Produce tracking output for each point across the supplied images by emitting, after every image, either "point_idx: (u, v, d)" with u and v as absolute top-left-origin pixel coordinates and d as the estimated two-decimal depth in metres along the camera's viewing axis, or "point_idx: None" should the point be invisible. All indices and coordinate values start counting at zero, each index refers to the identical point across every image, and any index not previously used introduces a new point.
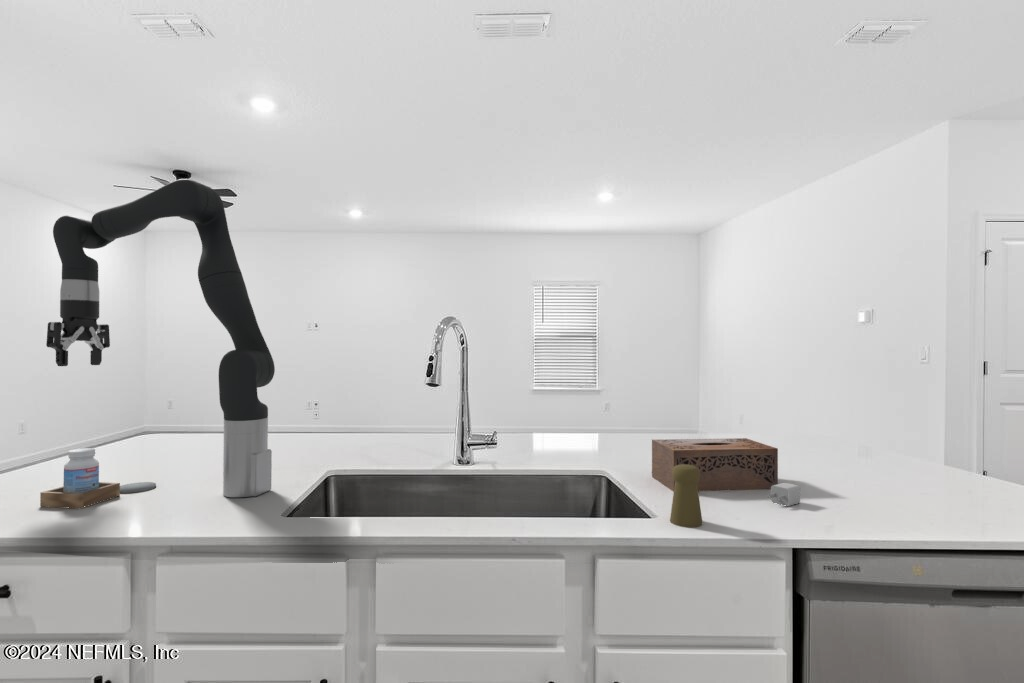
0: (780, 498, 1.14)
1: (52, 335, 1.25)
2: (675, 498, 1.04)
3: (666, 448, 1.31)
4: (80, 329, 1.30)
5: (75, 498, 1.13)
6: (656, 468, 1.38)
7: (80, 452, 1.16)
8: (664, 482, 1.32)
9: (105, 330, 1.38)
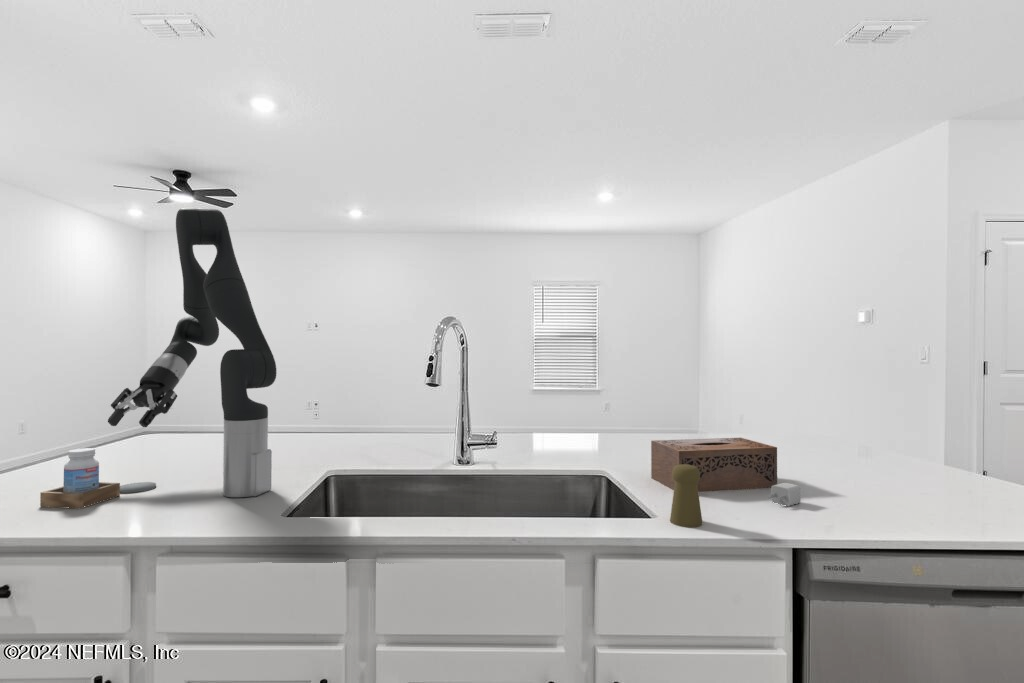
0: (780, 498, 1.14)
1: None
2: (675, 498, 1.04)
3: (669, 449, 1.30)
4: (138, 391, 1.35)
5: (75, 498, 1.13)
6: (657, 469, 1.36)
7: (80, 452, 1.16)
8: (667, 483, 1.31)
9: (166, 393, 1.34)
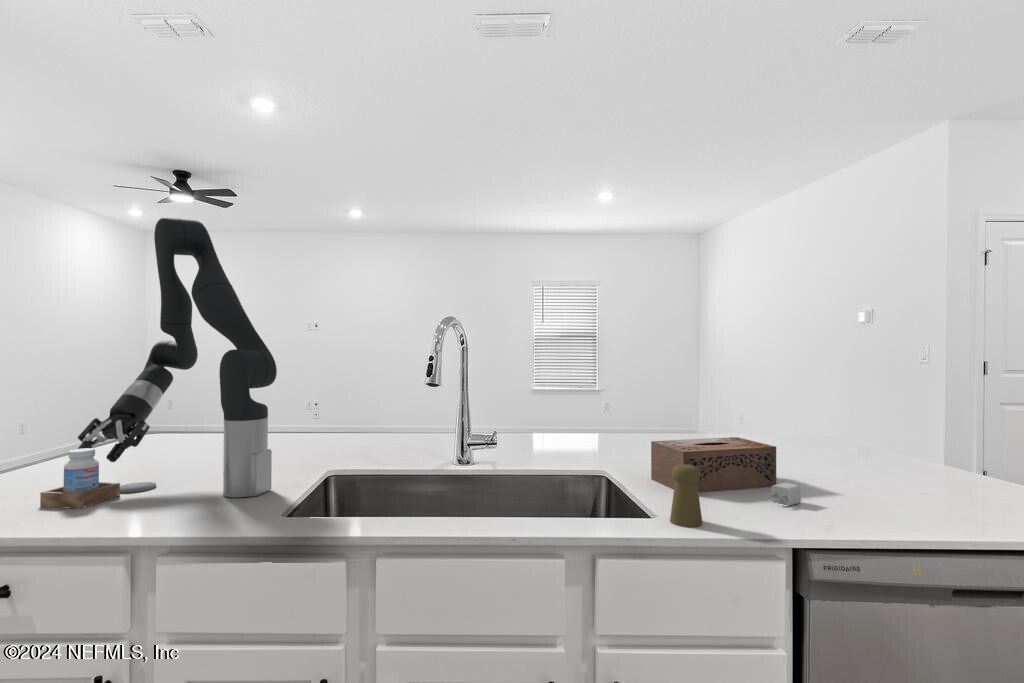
0: (781, 498, 1.14)
1: None
2: (675, 498, 1.04)
3: (672, 450, 1.29)
4: (107, 422, 1.26)
5: (75, 498, 1.13)
6: (657, 470, 1.35)
7: (80, 452, 1.16)
8: (669, 484, 1.30)
9: (137, 425, 1.26)
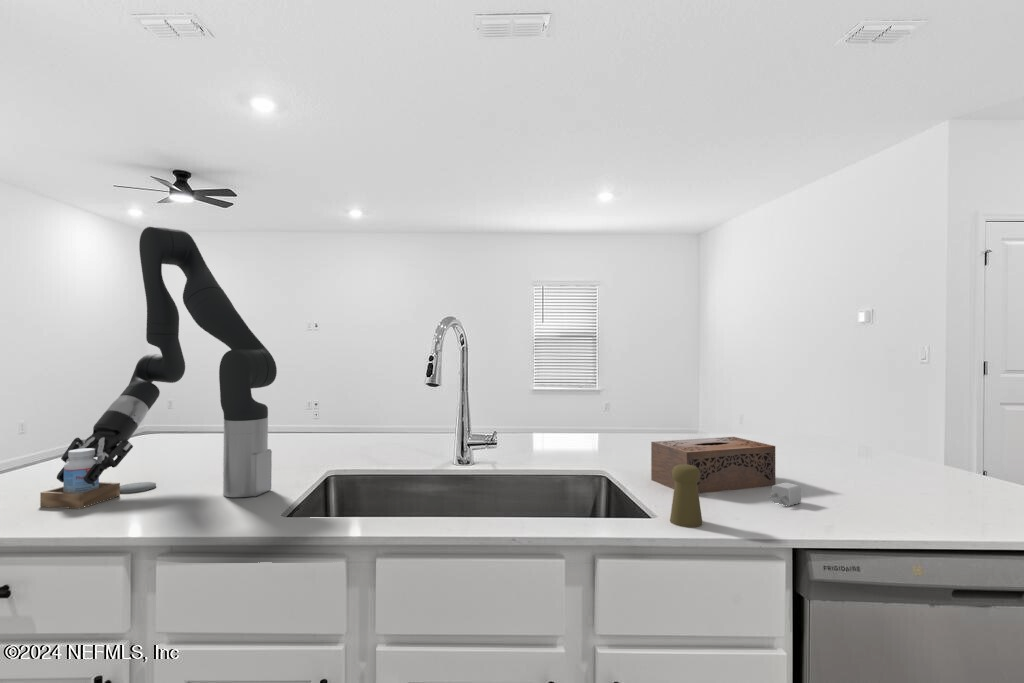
0: (781, 498, 1.15)
1: None
2: (675, 498, 1.04)
3: (675, 450, 1.28)
4: (90, 440, 1.22)
5: (75, 498, 1.13)
6: (658, 470, 1.35)
7: (80, 452, 1.16)
8: (671, 485, 1.30)
9: (119, 444, 1.21)
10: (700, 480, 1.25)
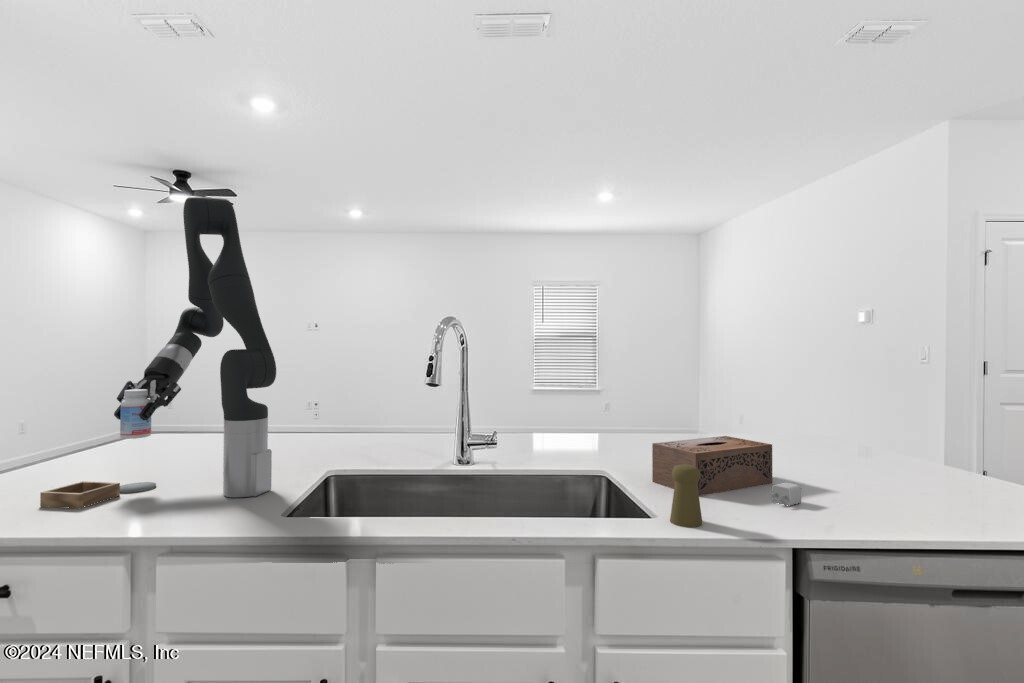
0: (781, 498, 1.15)
1: None
2: (675, 498, 1.04)
3: (681, 451, 1.27)
4: (142, 382, 1.32)
5: (75, 498, 1.13)
6: (661, 472, 1.33)
7: (135, 391, 1.27)
8: None
9: (169, 386, 1.31)
10: (707, 481, 1.25)
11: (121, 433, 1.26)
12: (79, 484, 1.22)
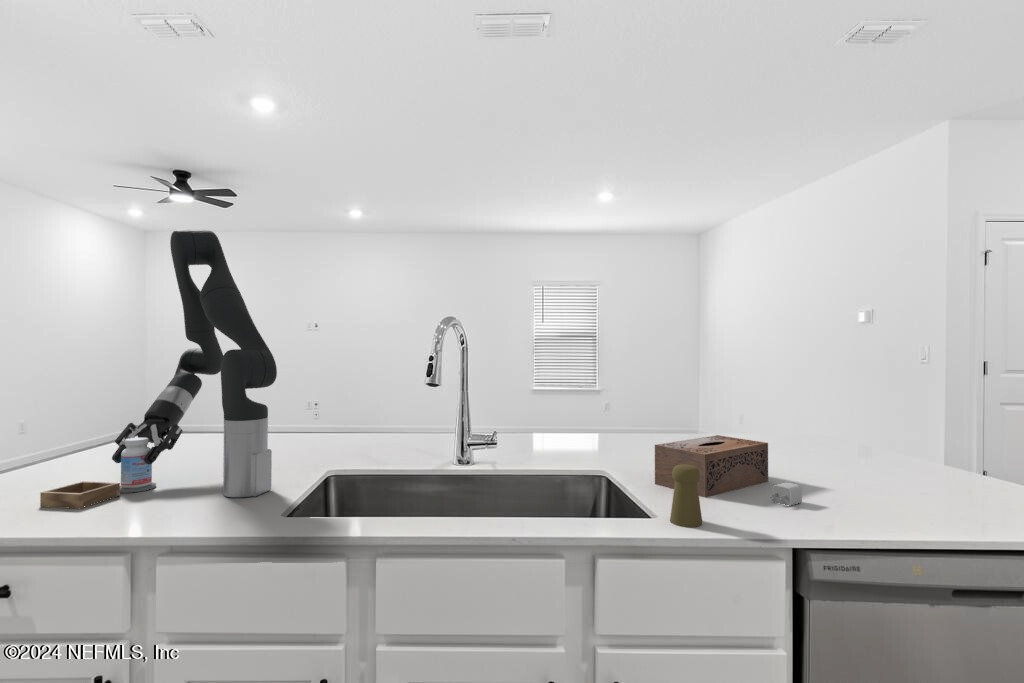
0: (782, 498, 1.15)
1: None
2: (675, 498, 1.04)
3: (688, 453, 1.25)
4: (142, 426, 1.32)
5: (75, 498, 1.13)
6: (665, 474, 1.31)
7: (136, 441, 1.27)
8: None
9: (171, 429, 1.32)
10: (715, 482, 1.24)
11: (121, 483, 1.26)
12: (79, 484, 1.22)
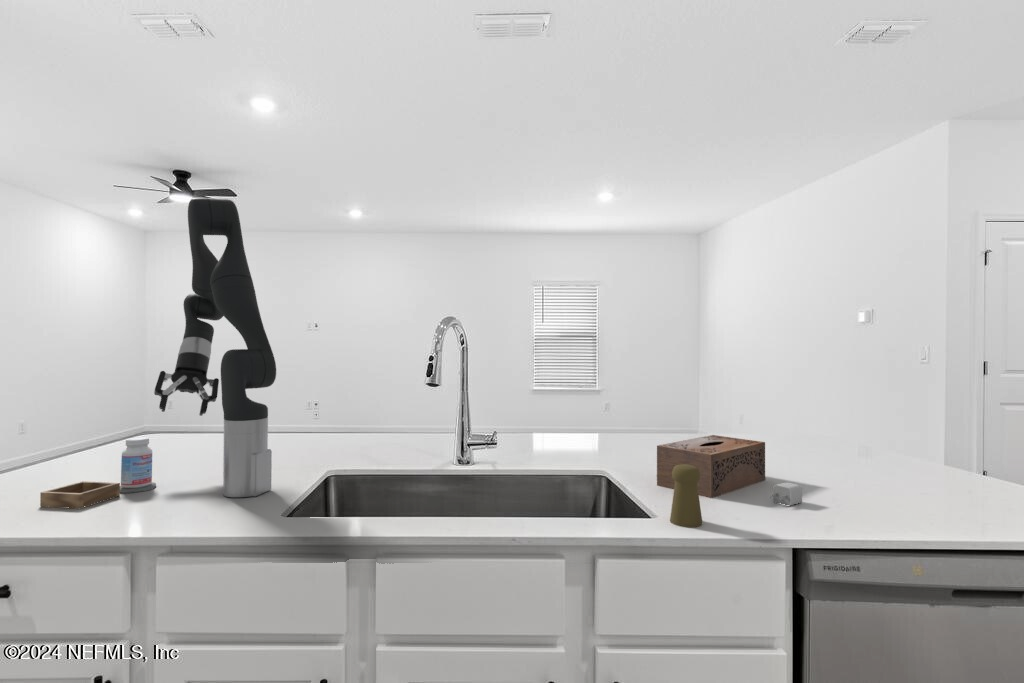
0: (782, 498, 1.15)
1: (157, 382, 1.40)
2: (675, 498, 1.04)
3: (693, 453, 1.25)
4: (182, 377, 1.42)
5: (75, 498, 1.13)
6: (668, 475, 1.30)
7: (136, 440, 1.27)
8: None
9: (214, 383, 1.46)
10: (719, 482, 1.24)
11: (122, 483, 1.26)
12: (79, 484, 1.22)
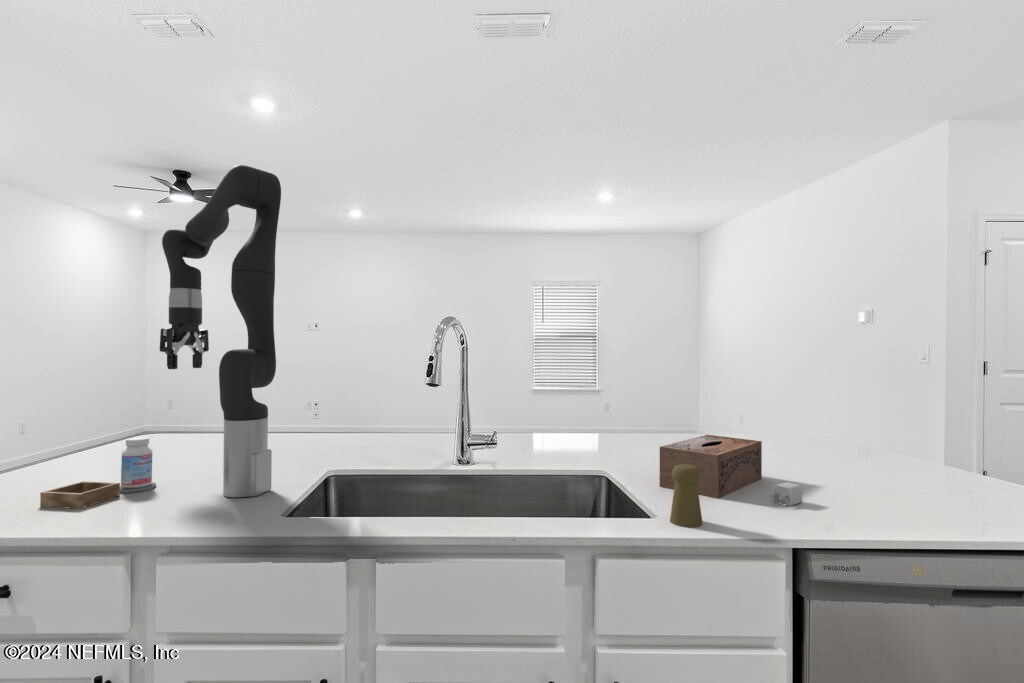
0: (782, 497, 1.15)
1: (165, 340, 1.34)
2: (675, 498, 1.04)
3: (698, 454, 1.24)
4: (187, 334, 1.40)
5: (75, 498, 1.13)
6: (671, 476, 1.29)
7: (136, 440, 1.27)
8: None
9: (205, 335, 1.47)
10: (724, 482, 1.24)
11: (122, 482, 1.26)
12: (79, 484, 1.22)
